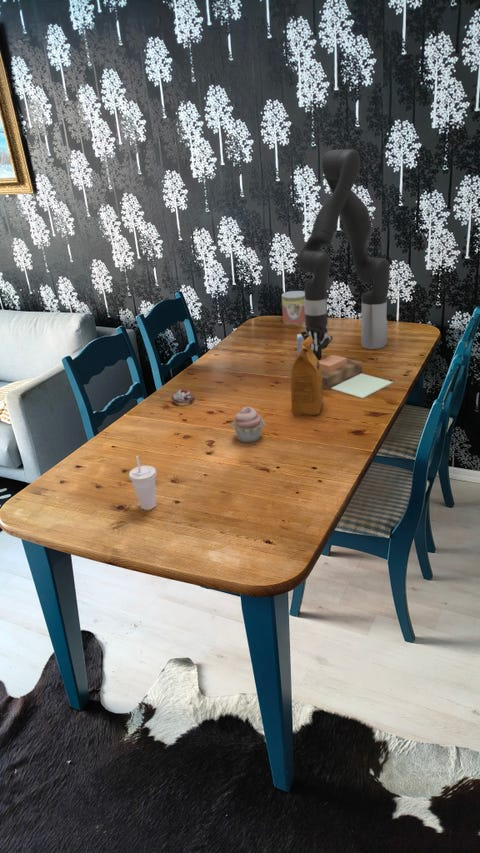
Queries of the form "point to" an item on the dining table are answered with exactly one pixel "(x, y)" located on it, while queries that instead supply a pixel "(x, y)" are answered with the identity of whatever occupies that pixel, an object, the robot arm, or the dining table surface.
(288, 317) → the canned food
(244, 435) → the cupcake
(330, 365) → the pink rectangular block
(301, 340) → the medicine box
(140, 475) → the smoothie
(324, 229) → the robot arm
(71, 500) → the dining table surface
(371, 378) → the mat
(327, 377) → the deck
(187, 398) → the pastry
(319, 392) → the coffee package
